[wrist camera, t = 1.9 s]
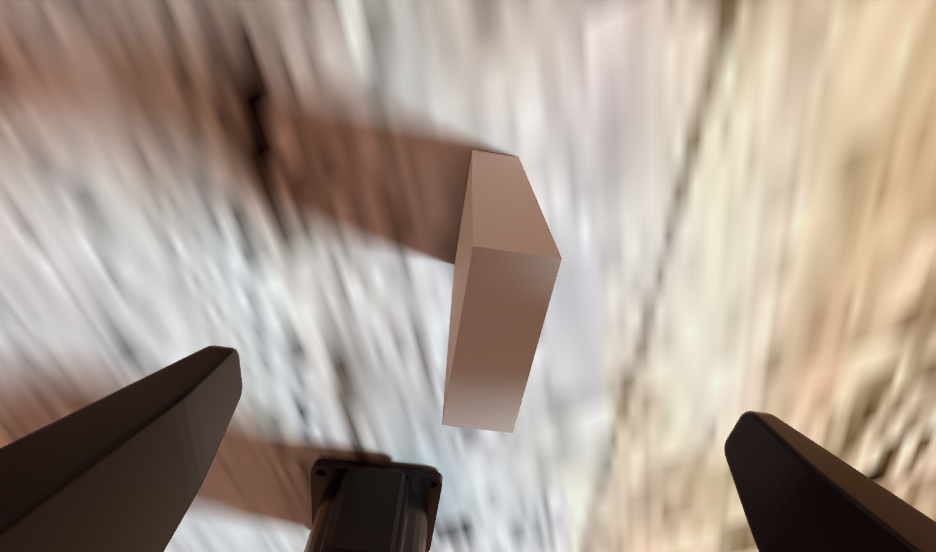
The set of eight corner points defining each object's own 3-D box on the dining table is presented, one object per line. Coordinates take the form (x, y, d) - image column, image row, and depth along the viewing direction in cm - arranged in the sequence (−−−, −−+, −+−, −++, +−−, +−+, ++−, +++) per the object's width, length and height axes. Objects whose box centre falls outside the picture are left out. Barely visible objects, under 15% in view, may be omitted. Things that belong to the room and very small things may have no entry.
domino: (495, 270, 17) (512, 432, 10) (454, 264, 17) (441, 424, 10) (518, 157, 15) (561, 258, 8) (472, 149, 15) (472, 245, 8)
